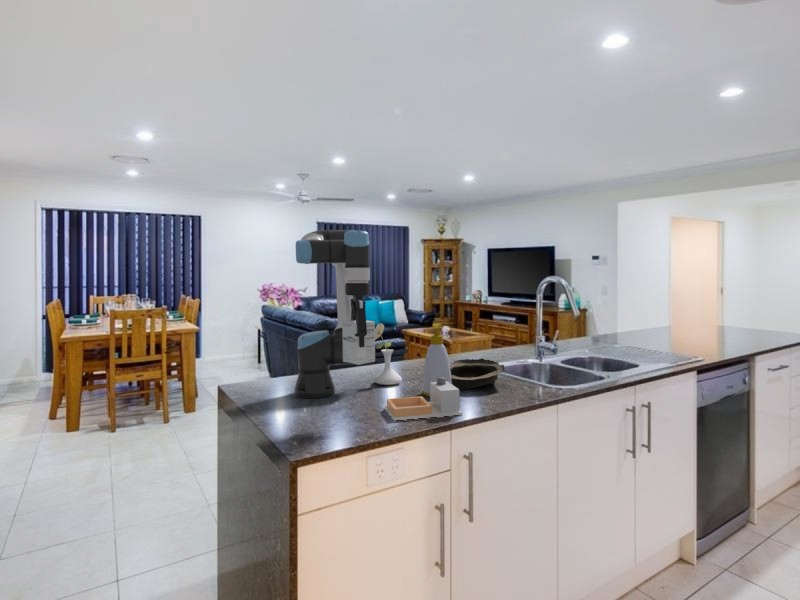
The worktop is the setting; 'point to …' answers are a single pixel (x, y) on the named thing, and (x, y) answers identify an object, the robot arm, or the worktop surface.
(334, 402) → the worktop surface
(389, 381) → the flower in vase
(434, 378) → the soap bottle
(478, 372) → the stone bowl
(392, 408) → the tan white boxy piece
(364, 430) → the worktop surface
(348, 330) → the supplement box
